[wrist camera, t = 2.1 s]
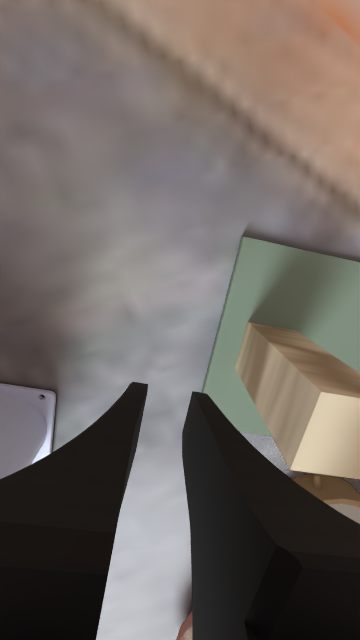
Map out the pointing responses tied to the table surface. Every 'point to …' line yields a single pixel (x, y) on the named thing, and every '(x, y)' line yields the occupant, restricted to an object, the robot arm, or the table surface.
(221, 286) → the table surface
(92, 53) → the table surface
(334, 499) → the alarm clock
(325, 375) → the birch block
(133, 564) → the table surface
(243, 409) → the rubber mat
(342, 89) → the table surface
